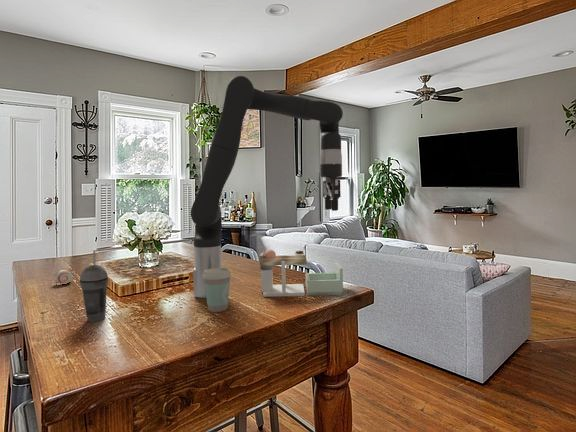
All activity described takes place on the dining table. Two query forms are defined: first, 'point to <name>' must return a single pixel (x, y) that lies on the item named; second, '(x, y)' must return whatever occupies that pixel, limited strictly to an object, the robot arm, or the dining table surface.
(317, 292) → the cup
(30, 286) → the dining table surface
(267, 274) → the stand
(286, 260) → the lever trough
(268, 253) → the ball
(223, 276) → the coffee cup
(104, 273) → the beverage cup
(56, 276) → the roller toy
